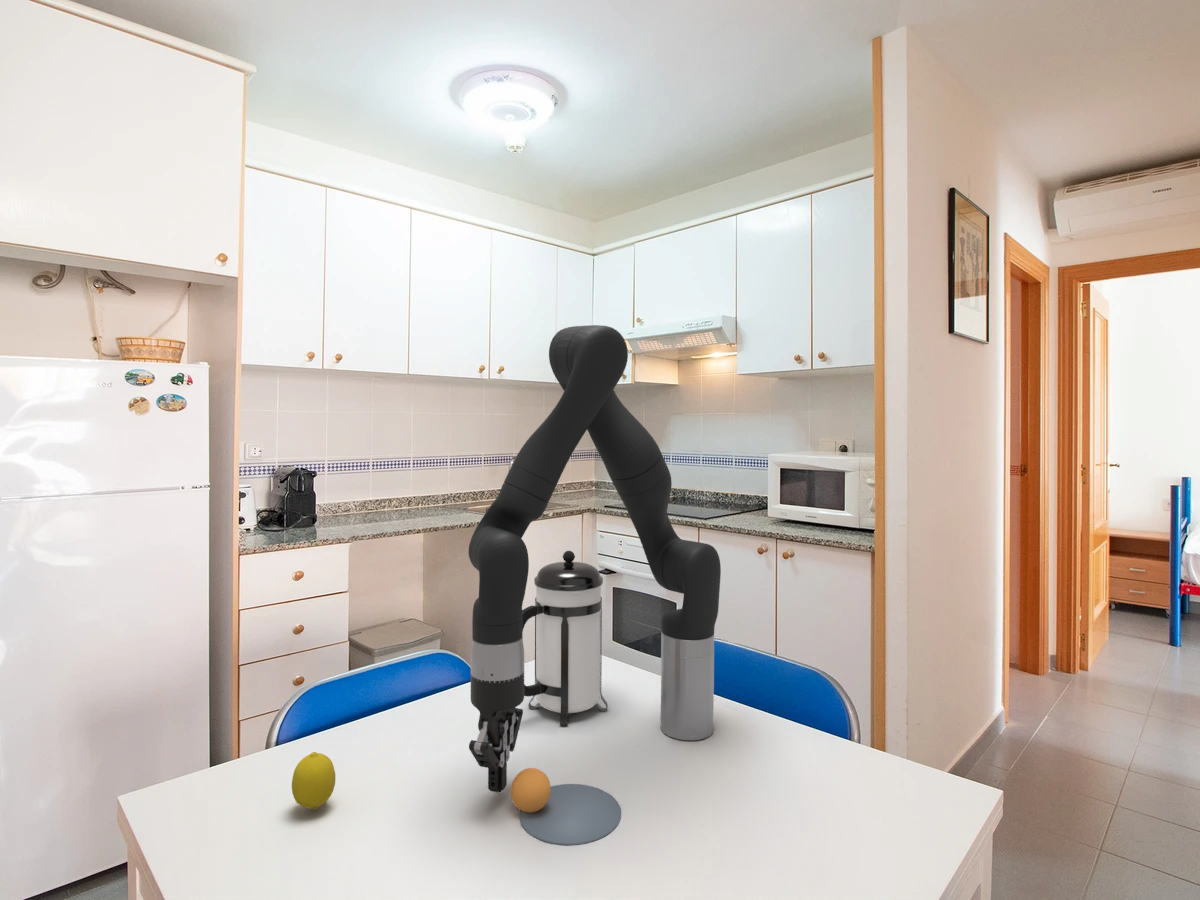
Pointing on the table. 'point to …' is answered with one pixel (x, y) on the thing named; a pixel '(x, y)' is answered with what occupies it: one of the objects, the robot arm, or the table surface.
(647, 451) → the robot arm
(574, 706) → the coffee press
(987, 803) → the table surface
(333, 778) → the lemon
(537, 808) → the ball
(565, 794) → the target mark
